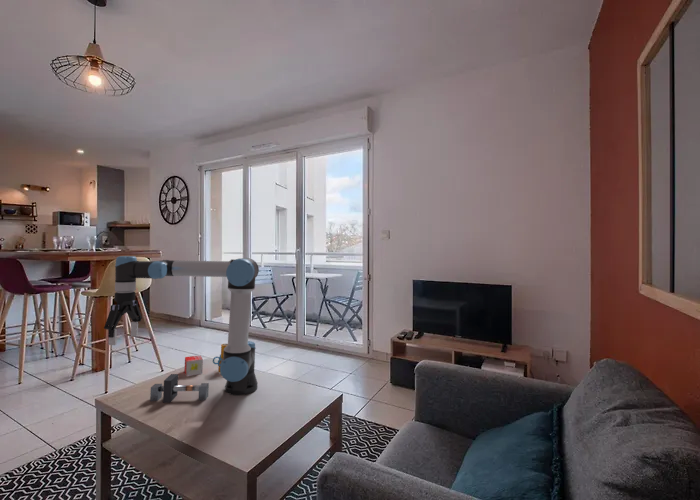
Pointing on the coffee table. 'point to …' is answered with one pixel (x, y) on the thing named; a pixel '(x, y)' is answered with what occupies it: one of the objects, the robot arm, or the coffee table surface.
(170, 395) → the dark gray notched block
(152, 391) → the rail
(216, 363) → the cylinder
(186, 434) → the coffee table surface
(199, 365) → the red gray cube
